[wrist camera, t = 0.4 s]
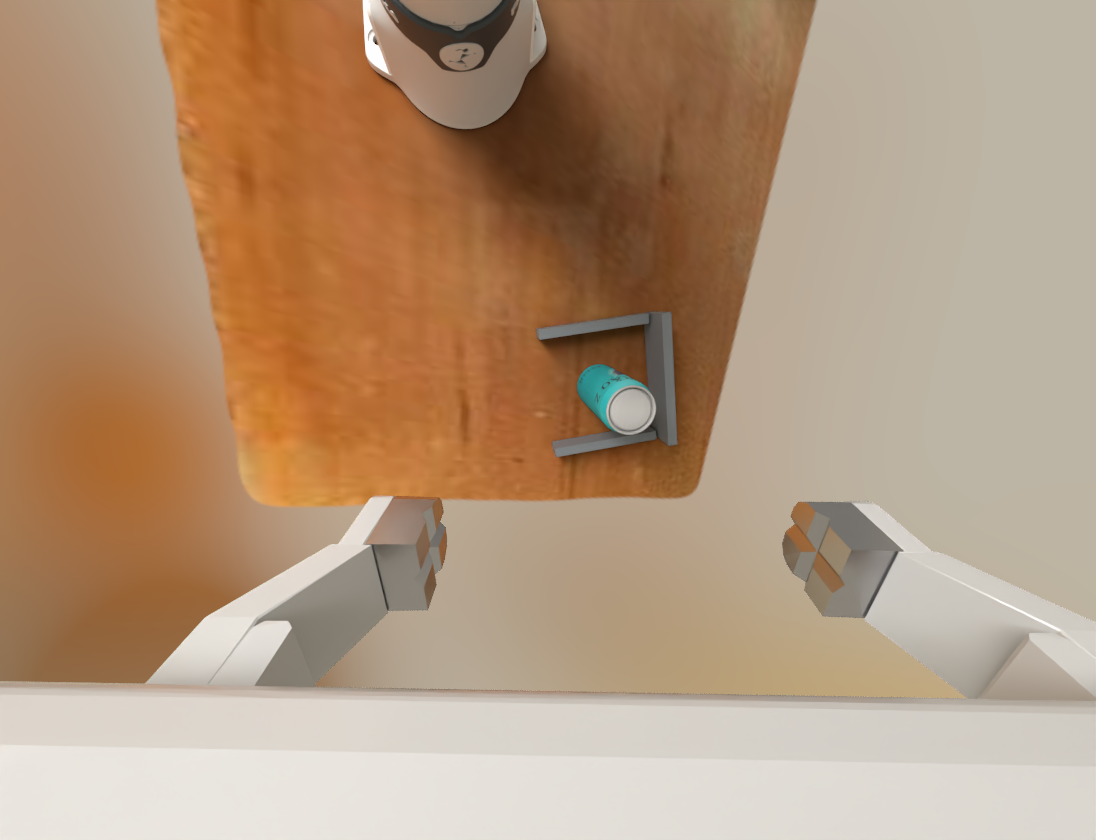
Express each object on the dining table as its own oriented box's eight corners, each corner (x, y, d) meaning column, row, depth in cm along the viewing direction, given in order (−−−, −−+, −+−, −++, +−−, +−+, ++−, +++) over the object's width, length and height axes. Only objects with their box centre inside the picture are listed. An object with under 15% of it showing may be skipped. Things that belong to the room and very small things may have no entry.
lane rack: (535, 328, 51) (541, 331, 46) (651, 311, 53) (671, 311, 47) (552, 449, 56) (559, 465, 50) (658, 430, 57) (677, 444, 52)
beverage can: (623, 379, 55) (670, 405, 40) (597, 412, 55) (633, 448, 41) (592, 353, 53) (629, 371, 39) (565, 387, 54) (592, 416, 40)
